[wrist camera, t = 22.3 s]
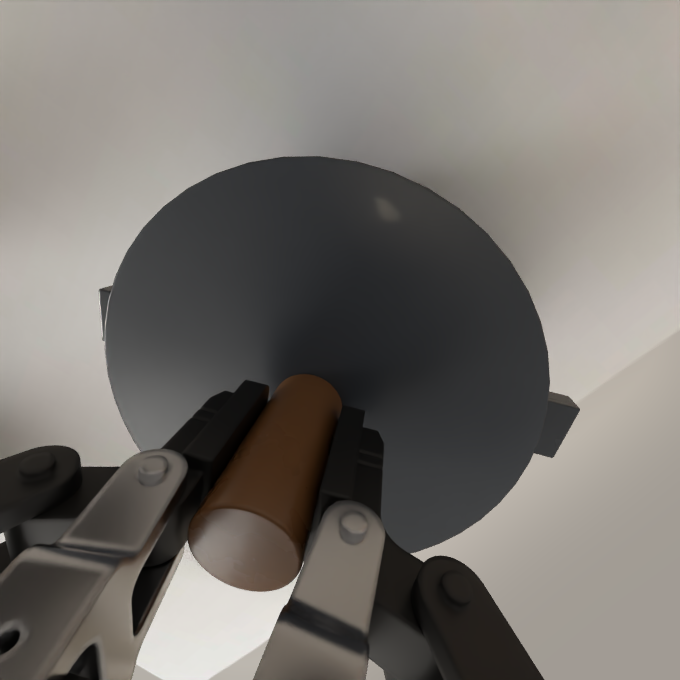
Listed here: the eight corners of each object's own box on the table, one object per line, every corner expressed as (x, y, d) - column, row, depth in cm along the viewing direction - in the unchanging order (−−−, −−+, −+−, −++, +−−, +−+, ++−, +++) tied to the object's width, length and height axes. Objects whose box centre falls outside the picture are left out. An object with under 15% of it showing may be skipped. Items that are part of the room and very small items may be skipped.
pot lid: (116, 113, 10) (-271, -15, 4) (629, 223, 9) (1044, 254, 3) (131, 485, 16) (-26, 651, 10) (450, 577, 15) (486, 822, 9)
